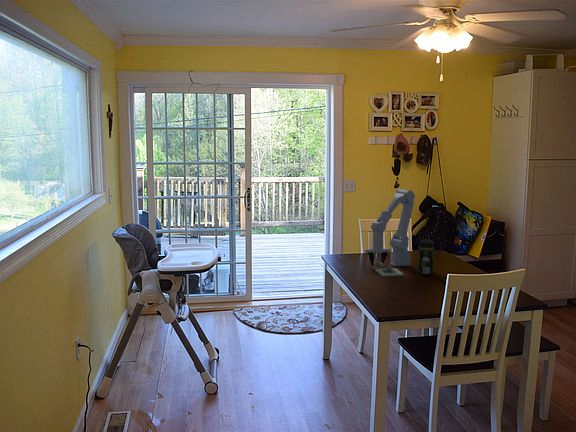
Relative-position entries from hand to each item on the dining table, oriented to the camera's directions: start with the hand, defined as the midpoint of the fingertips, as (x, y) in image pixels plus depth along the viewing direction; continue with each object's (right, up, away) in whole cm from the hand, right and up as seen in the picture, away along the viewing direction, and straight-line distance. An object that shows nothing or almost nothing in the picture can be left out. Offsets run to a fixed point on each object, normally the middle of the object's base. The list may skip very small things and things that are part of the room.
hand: (377, 265), depth 293 cm
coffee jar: (+25, -3, -10) cm, 27 cm away
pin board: (+5, -3, -11) cm, 12 cm away
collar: (0, -1, 0) cm, 1 cm away
